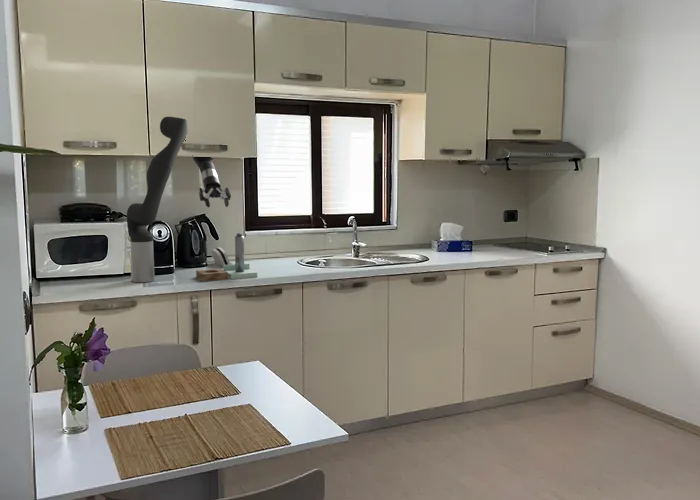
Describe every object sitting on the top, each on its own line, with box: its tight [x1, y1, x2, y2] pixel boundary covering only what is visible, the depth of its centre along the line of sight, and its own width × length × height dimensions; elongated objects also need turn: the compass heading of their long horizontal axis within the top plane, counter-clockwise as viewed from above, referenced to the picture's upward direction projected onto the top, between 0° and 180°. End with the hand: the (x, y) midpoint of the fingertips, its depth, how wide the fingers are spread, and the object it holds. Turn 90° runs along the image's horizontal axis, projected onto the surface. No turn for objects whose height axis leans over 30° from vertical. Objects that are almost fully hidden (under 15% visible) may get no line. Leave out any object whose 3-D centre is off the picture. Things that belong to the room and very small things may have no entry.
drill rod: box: [234, 232, 245, 272], centre depth 283 cm, size 4×4×17 cm
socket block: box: [195, 268, 229, 282], centre depth 279 cm, size 11×11×3 cm
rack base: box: [222, 262, 258, 280], centre depth 285 cm, size 12×12×4 cm
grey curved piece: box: [210, 247, 234, 268], centre depth 313 cm, size 17×5×10 cm, turn 27°
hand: (218, 206), depth 292 cm, fingers open, 8 cm apart
